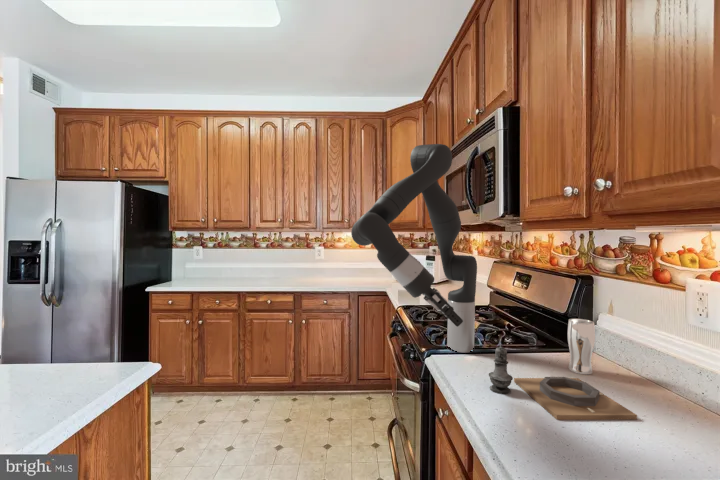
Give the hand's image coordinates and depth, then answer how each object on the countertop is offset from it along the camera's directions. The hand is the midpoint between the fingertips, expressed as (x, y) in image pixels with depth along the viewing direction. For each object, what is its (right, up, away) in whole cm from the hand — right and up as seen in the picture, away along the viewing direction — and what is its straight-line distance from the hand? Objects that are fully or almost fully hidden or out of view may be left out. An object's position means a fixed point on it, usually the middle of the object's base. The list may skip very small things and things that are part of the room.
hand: (455, 319), depth 91 cm
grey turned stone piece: (+12, -19, +1) cm, 22 cm away
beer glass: (+42, -19, +14) cm, 48 cm away
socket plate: (+27, -19, -4) cm, 33 cm away
